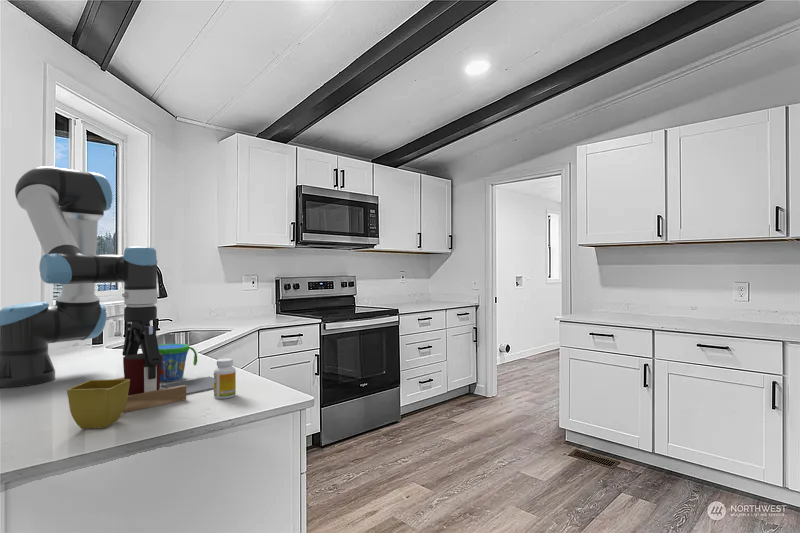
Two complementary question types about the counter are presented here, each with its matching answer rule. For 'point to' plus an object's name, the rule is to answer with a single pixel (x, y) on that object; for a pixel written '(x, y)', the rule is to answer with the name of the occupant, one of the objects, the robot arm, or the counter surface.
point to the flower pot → (98, 402)
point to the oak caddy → (154, 397)
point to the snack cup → (174, 360)
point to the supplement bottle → (224, 379)
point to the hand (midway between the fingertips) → (140, 387)
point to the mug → (138, 372)
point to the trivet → (194, 385)
